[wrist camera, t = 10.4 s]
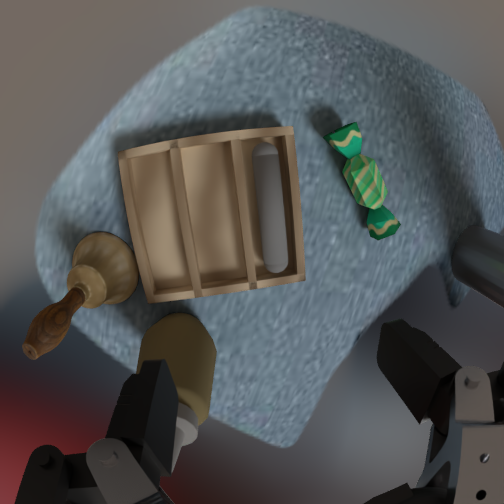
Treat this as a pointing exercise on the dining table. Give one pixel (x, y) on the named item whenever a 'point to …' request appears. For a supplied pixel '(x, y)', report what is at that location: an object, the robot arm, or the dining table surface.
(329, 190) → the dining table surface
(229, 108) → the dining table surface
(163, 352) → the squeeze bottle
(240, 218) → the wooden compartment tray
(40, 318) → the hand bell
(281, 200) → the grey capsule rod
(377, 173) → the candy
